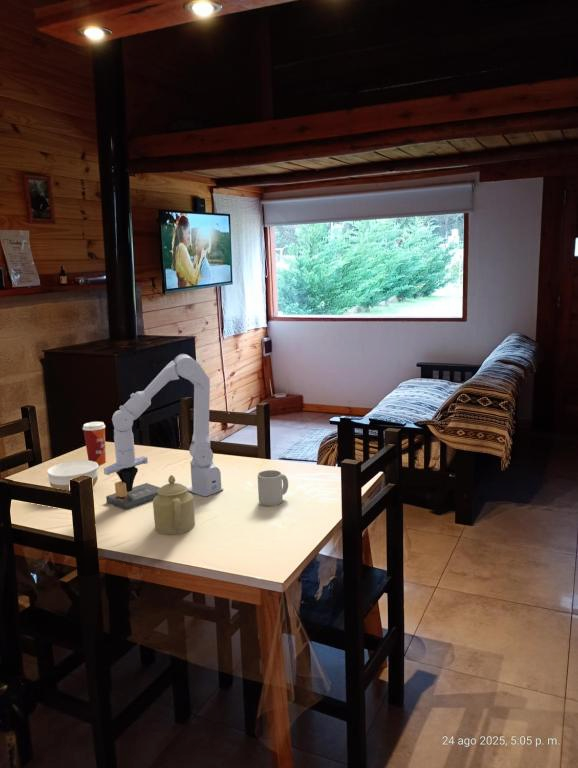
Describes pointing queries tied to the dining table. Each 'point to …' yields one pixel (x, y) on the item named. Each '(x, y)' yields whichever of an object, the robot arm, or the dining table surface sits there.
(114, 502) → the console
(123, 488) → the fader
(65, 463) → the bowl
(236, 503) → the dining table surface
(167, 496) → the sugar bowl
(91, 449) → the coffee cup
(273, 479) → the cup
